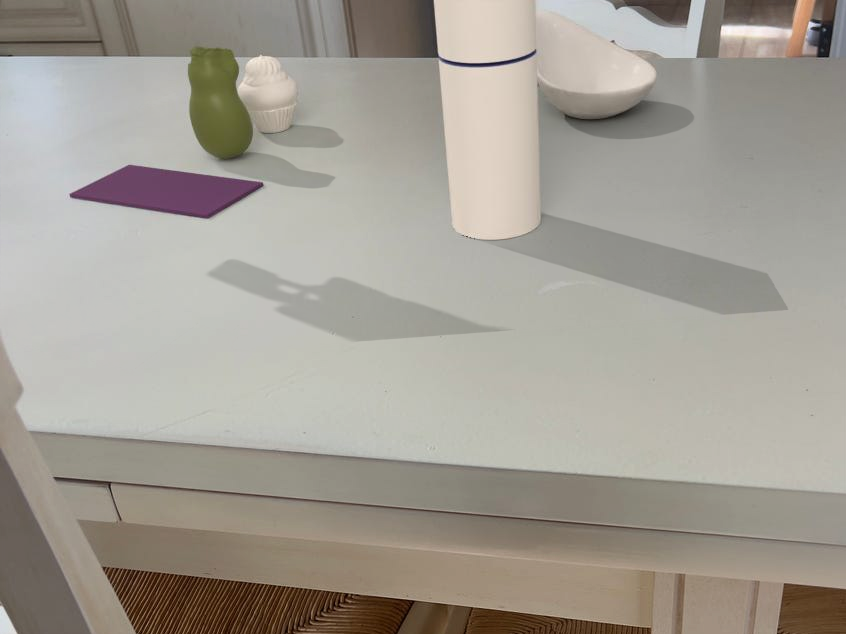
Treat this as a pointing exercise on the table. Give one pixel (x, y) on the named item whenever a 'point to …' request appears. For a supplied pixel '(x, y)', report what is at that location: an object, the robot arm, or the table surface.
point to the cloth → (167, 190)
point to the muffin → (268, 94)
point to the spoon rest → (587, 70)
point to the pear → (217, 103)
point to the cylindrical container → (490, 115)
